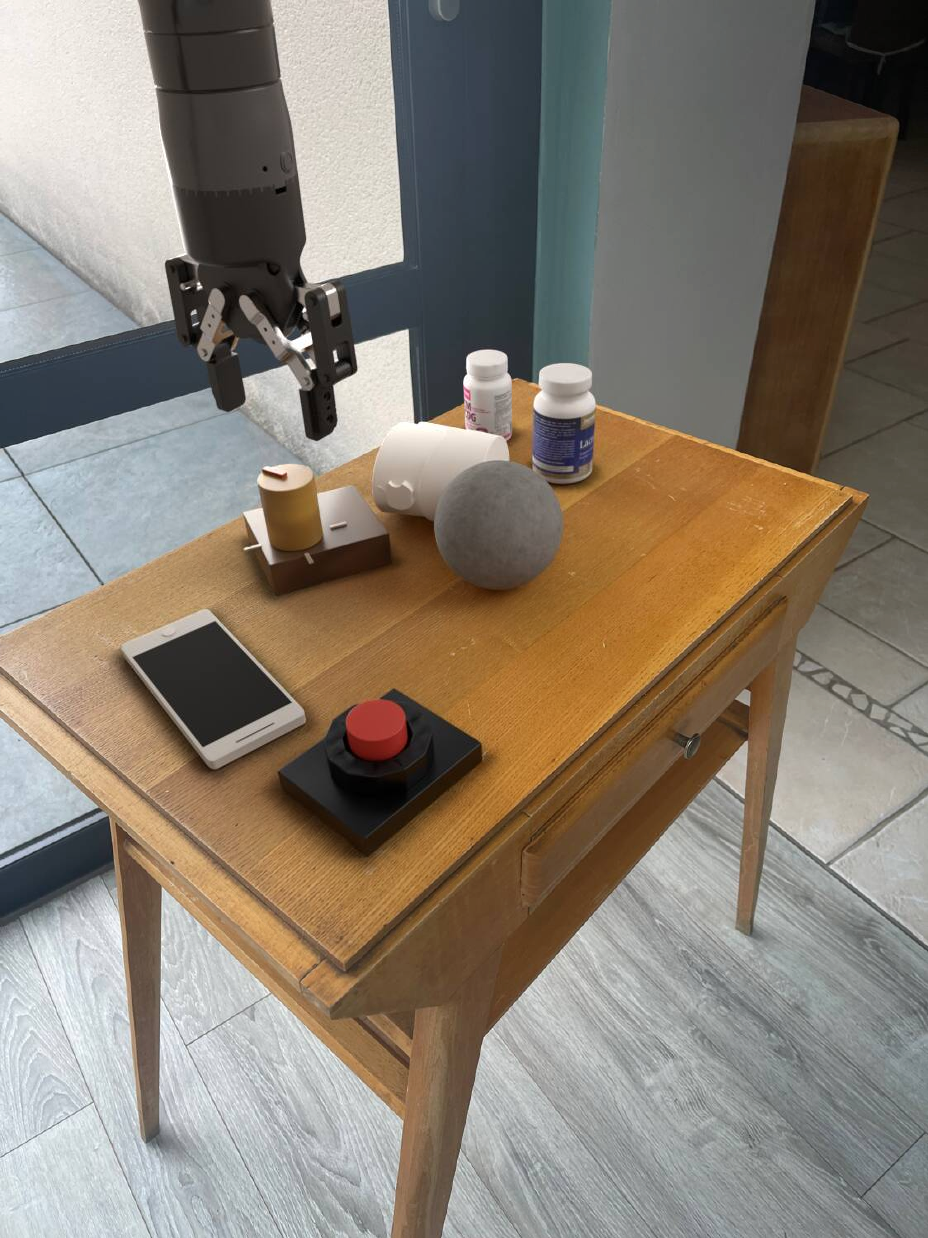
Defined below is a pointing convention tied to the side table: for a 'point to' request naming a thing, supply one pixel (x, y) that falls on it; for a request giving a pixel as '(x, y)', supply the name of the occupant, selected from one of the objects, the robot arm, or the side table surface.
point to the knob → (290, 506)
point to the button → (376, 730)
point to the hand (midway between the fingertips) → (275, 421)
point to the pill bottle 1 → (488, 393)
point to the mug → (427, 464)
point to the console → (324, 544)
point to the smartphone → (212, 688)
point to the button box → (380, 776)
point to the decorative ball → (498, 525)
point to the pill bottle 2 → (563, 424)
